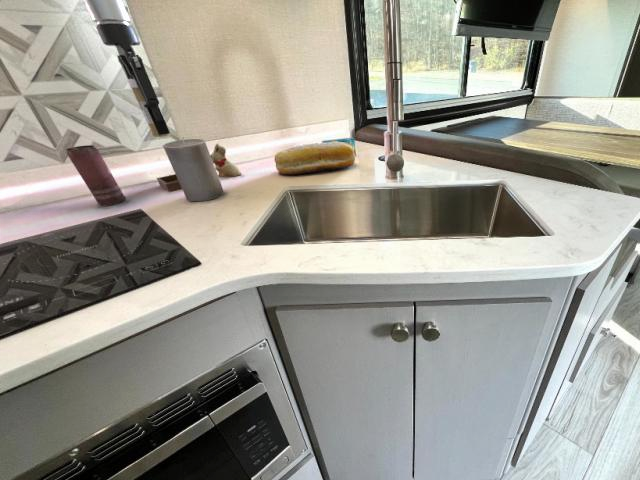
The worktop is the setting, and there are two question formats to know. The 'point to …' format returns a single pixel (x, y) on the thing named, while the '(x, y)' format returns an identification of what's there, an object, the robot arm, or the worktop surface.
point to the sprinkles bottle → (144, 110)
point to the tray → (169, 183)
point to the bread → (315, 158)
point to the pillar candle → (194, 169)
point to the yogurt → (344, 140)
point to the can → (96, 174)
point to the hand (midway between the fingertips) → (161, 132)
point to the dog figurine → (223, 163)
